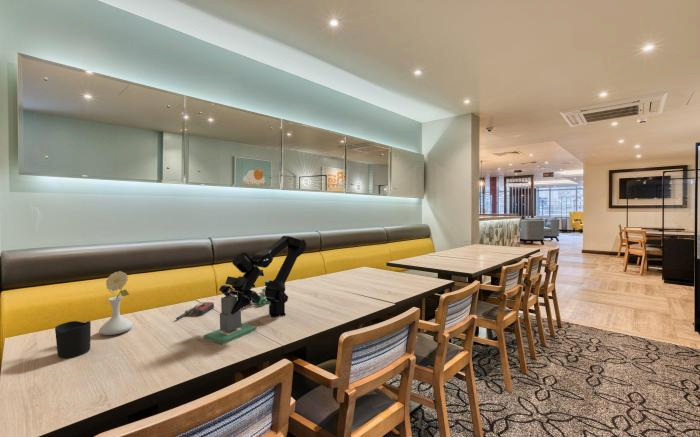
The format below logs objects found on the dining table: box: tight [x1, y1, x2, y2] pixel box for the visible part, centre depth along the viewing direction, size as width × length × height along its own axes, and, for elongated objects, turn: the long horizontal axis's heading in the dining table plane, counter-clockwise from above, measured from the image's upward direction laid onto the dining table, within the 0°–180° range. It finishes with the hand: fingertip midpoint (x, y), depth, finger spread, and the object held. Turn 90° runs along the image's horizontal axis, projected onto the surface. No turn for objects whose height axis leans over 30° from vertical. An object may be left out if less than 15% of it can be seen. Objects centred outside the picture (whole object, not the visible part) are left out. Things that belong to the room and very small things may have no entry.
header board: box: [203, 322, 257, 345], centre depth 131 cm, size 16×11×5 cm
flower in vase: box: [98, 270, 134, 336], centre depth 132 cm, size 13×11×25 cm
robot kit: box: [236, 280, 270, 307], centre depth 177 cm, size 19×25×9 cm
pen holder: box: [54, 320, 92, 359], centre depth 114 cm, size 9×9×10 cm
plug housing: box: [219, 295, 242, 332], centre depth 130 cm, size 7×4×12 cm
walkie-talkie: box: [175, 301, 215, 320], centre depth 155 cm, size 9×4×20 cm
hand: (227, 312), depth 129 cm, fingers closed on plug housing, 4 cm apart
